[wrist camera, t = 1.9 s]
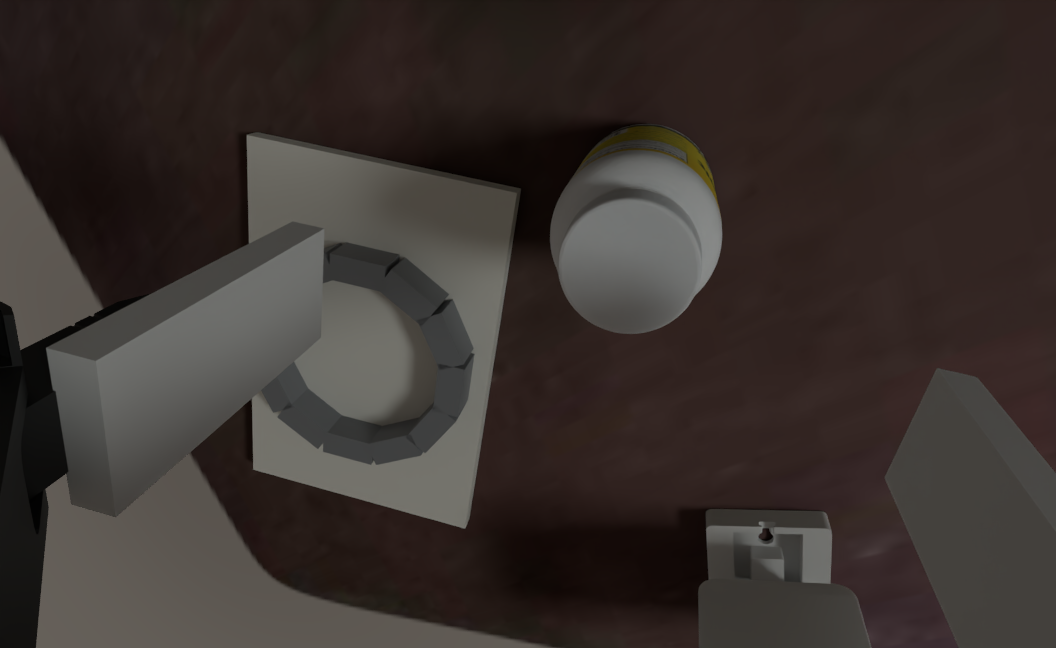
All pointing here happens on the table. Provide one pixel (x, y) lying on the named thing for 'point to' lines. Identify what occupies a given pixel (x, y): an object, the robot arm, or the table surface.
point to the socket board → (385, 325)
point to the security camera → (774, 584)
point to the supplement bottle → (637, 229)
